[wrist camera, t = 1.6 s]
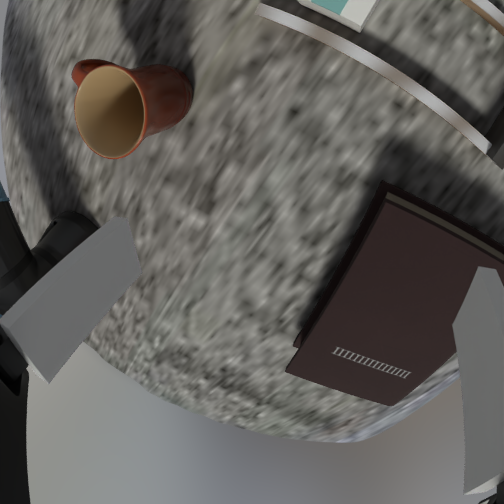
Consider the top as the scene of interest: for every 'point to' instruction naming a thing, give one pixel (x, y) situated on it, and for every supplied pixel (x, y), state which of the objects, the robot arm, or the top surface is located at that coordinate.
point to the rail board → (492, 145)
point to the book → (393, 299)
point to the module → (344, 11)
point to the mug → (127, 104)
